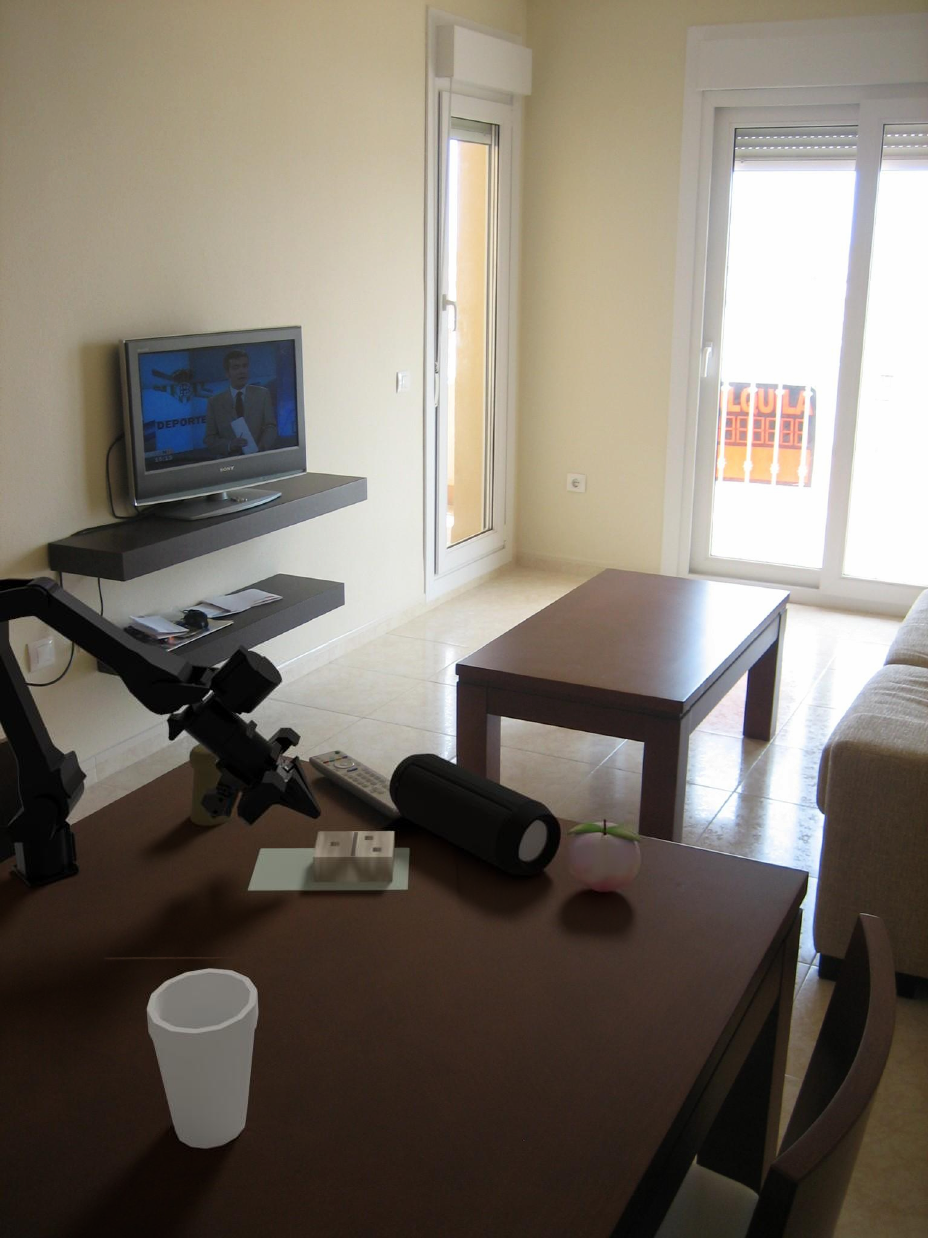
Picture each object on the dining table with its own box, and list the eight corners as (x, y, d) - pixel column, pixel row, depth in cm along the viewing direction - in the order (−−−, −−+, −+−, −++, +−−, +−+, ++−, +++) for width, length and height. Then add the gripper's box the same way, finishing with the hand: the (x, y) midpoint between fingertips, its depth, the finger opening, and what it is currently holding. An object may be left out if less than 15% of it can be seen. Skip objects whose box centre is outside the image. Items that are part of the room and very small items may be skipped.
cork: (223, 828, 160) (219, 755, 157) (183, 824, 161) (178, 752, 158) (240, 810, 166) (236, 739, 163) (200, 806, 167) (196, 735, 164)
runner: (247, 891, 144) (247, 890, 144) (260, 850, 154) (260, 848, 154) (407, 891, 144) (407, 889, 144) (409, 849, 155) (409, 848, 155)
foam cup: (167, 1090, 108) (158, 970, 105) (266, 1085, 109) (260, 966, 106) (149, 1164, 99) (138, 1036, 96) (257, 1158, 100) (251, 1031, 97)
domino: (312, 857, 145) (392, 856, 145) (318, 831, 151) (394, 831, 152) (313, 882, 146) (392, 881, 146) (319, 855, 152) (394, 855, 153)
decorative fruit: (637, 876, 148) (641, 805, 145) (640, 909, 140) (644, 835, 138) (564, 872, 149) (567, 802, 146) (563, 905, 141) (566, 831, 138)
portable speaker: (564, 867, 151) (567, 797, 148) (510, 893, 144) (512, 820, 141) (437, 803, 169) (437, 740, 166) (384, 824, 162) (383, 758, 159)
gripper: (199, 750, 154) (285, 823, 157) (168, 811, 136) (266, 893, 140) (255, 694, 152) (341, 770, 155) (230, 749, 134) (328, 834, 137)
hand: (318, 816), depth 147 cm, fingers closed
